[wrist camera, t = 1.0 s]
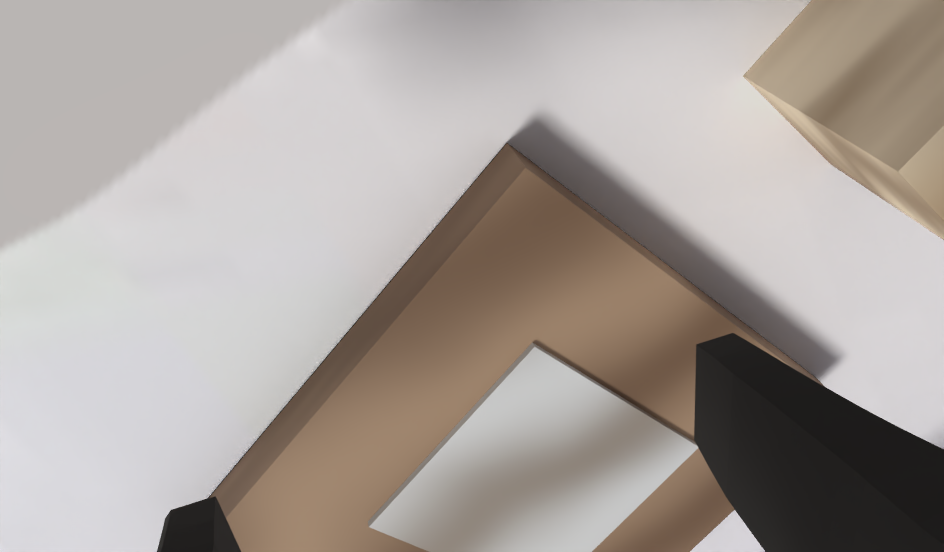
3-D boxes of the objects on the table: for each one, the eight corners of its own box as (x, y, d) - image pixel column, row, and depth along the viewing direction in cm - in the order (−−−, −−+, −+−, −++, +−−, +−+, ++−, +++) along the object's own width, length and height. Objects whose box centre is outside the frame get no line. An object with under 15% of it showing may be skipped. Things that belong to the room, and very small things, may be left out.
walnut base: (816, 377, 28) (848, 411, 27) (532, 649, 32) (547, 691, 30) (507, 143, 21) (528, 171, 20) (186, 524, 25) (185, 571, 23)
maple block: (948, 42, 23) (1151, 123, 18) (830, 164, 24) (992, 272, 19) (867, -63, 21) (1071, -3, 16) (742, 75, 22) (897, 171, 17)
